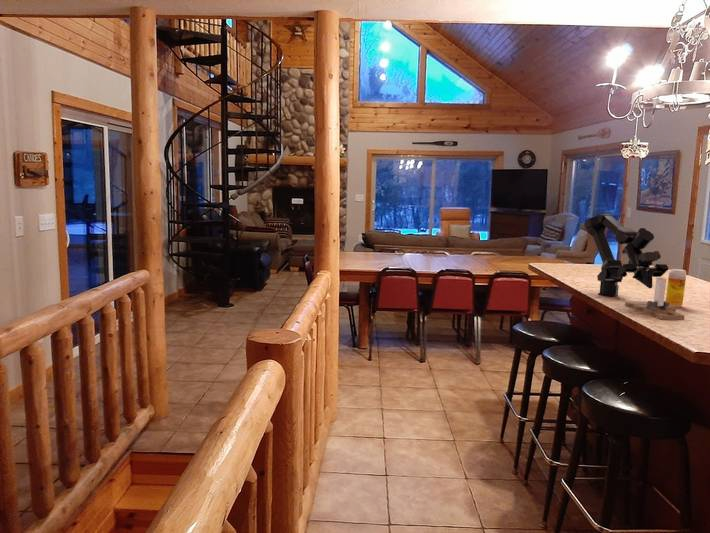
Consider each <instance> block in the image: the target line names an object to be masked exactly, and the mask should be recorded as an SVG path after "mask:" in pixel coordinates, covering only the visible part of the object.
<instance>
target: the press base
mask: <svg viewBox="0 0 710 533" xmlns="http://www.w3.org/2000/svg"><path fill="white" fill-rule="evenodd" d="M656 304H657V303H655V302H654V301H651V300H647V301H646V300H645V301H643V300H642V301H639V300H638V301H634V300H633V301H628V300H627V301H625V302H624V306H625V305H626V306H625V307H628V306H629V307H628V308H631V309H633V308H634V310H636V311H638V310H639V312H641V313H643V312H644V313H643V314H647V315H649V316H651V315H652V316H651V317H654V318H656V317H657V319H660V320H684V319H685V314H682V313H680V312H677V309H676V308H677V307H674V306H669V304H670V303H669V302H666V300H664V304H663V308H656Z"/></svg>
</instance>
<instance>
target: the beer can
mask: <svg viewBox="0 0 710 533" xmlns="http://www.w3.org/2000/svg"><path fill="white" fill-rule="evenodd" d="M686 280H687V271H686V270H685V269H680V268H671V269H669V271H668V277H667V284H666V286H667V287H666V292H665V301H666V302H669V303H670V304H669V306H674V307H675V308H681V307H682V306H683V304H684V303H683V302H684V295H685V287H686Z"/></svg>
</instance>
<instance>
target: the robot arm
mask: <svg viewBox="0 0 710 533" xmlns="http://www.w3.org/2000/svg"><path fill="white" fill-rule="evenodd" d="M583 226H584V228H585V230H586V233H587V234H589V235H590V236H591V237H592V238H593V240H594V242H595V246H596V249H597V251H598V254H599V256H600V259H601V261H602V265H601V268H600V270H601V271H600V272H599V273H598V274H597V281H599V282H600V284H599V286H600V287H599V292H598V293H597V295H600V296H605V297H611V298H613V297H617V296H618V295H619V285H618V284H619V283H622V281H623V278H626V277H627V276H628V273H632V274H633V276H632V279H635V280H636V281H639V283H641V284H643V285H644V286H645V287H647V288H648V289H652V288H653V277H654V278H662V276H664V274H665V273H667V272H668V270H670V268H669V266H668V265H667V264H666V263H655V265H654V266H652V265H653V262H655V261H658V260H660V259H661V257H662V255H661V253H660V251H659V250H654V251H647V252H646V251H645V252H643V249H644V250H645V249H646V248H647V247H648V246H649V244H650V243H652V241H654V239H655V235H654V233H652V232H651V231H649V230H647V229H646V227H640V228H639V229H638V231H636V230H633V229H631V228H628V227H625V226H624V225H623V224H621V223H620V222H619V221H618V220H617V219H615V218H614V217H613V215H612V214H611V213H601V214H599V215H596V216H593V217H588V218H587V219H586V220H585V221H584V224H583ZM606 229H608V230H609V231H610V232H611V233H612V234H614V239H615V240H616V242H617V243H618V244H619V245H625V246H623V248H622V251H621V254H626V256H627V258H628V261H627V263H622V261H621V260H620V259H615V257H614V254H613V251H612V250H611V247H610V244H609V241H608V239H607V237H606V233H605V232H606Z"/></svg>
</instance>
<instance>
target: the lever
mask: <svg viewBox="0 0 710 533" xmlns="http://www.w3.org/2000/svg"><path fill="white" fill-rule="evenodd" d="M655 278H656V279H655V288H654V294H653V295H654V296H653V302H655V303H657V304H656V308H663V304H664V301H665V296H666V288H667V287H666V286H667V278H665V277H655Z"/></svg>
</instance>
